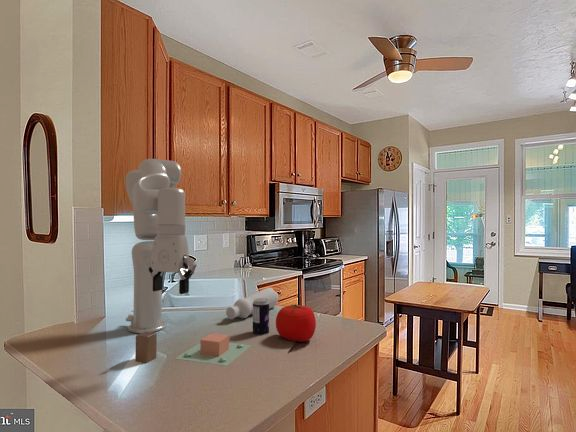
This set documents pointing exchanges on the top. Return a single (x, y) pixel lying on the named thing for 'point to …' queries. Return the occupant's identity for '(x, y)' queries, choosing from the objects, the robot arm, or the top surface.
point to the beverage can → (261, 316)
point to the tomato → (296, 323)
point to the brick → (214, 344)
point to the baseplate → (223, 359)
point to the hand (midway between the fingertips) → (170, 291)
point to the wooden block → (146, 347)
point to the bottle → (251, 303)
